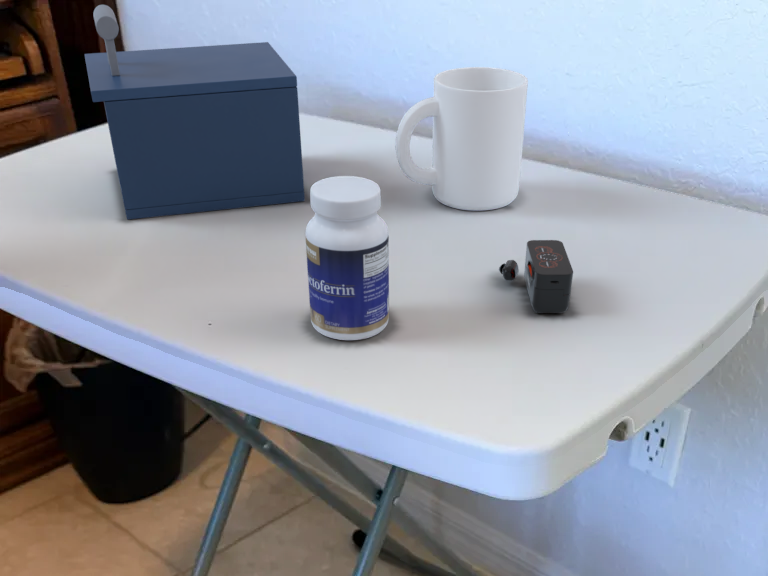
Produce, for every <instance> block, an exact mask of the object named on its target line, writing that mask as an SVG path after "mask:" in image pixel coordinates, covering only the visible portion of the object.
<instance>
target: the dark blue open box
mask: <svg viewBox="0 0 768 576" xmlns="http://www.w3.org/2000/svg"><path fill="white" fill-rule="evenodd" d="M103 106H104V110H105V115H106V120H107V127H108V131H109V136H110V141H111V147H112V152H113V158H114V162H115V167H116V172H117V173H116V174H117V178H118V183H119V188H120V192H121V197H122V203H123V207H124V212H125V217H126V220H128V221H129V220H137V219H146V218H156V217H167V216H175V215H183V214H184V215H186V214H194V213H195V214H196V213H203V212H204V213H205V212H213V211H223V210H231V209H232V210H233V209H241V208H251V207H261V206H269V205H271V206H272V205H279V204H280V205H281V204H289V203H298V202H305V198H306V197H305V184H304V168H303V166H304V165H303V153H302V138H301V123H300V122H301V121H300V107H299V93H298V86H297V87H284V88H271V89H258V90H245V91H232V92H218V93H205V94H192V95H179V96H166V97H153V98H140V99H127V100H114V101H103Z"/></svg>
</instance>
